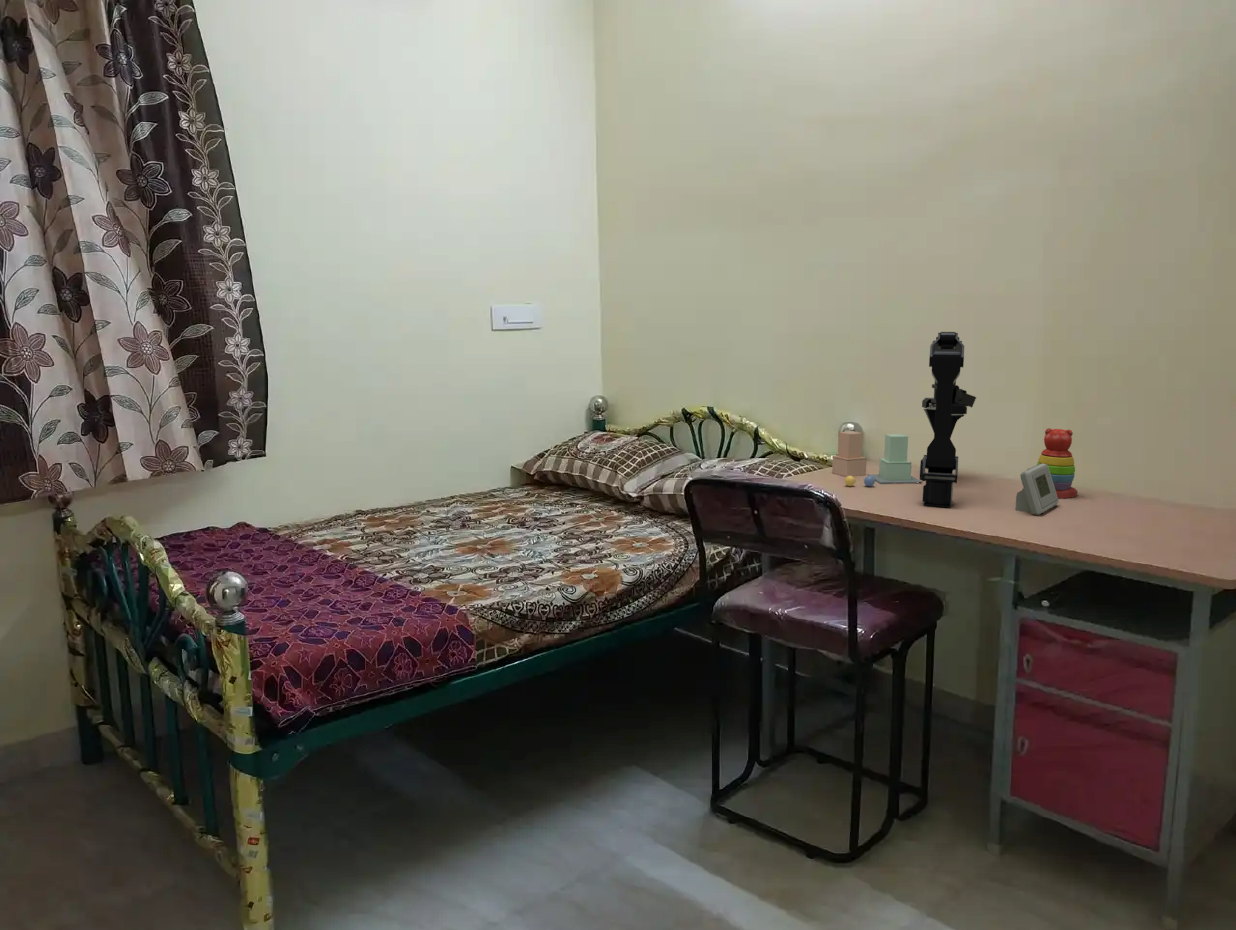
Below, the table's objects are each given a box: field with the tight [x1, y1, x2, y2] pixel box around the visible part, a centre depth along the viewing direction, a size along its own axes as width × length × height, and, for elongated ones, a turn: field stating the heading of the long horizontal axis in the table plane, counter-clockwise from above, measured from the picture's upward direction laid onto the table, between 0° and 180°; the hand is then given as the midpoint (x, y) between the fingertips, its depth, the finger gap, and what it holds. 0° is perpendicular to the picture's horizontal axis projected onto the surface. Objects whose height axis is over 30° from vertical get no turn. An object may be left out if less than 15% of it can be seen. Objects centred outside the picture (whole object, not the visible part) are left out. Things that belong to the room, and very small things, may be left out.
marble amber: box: [844, 476, 857, 487], centre depth 261 cm, size 3×3×3 cm
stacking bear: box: [1036, 428, 1078, 499], centre depth 247 cm, size 11×10×18 cm
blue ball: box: [863, 475, 876, 487], centre depth 260 cm, size 3×3×3 cm
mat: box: [867, 473, 923, 485], centre depth 270 cm, size 12×12×1 cm
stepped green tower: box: [878, 433, 912, 480], centre depth 269 cm, size 7×7×12 cm
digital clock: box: [1015, 464, 1059, 516], centre depth 230 cm, size 16×9×11 cm, turn 129°
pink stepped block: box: [831, 430, 868, 478], centre depth 279 cm, size 7×7×12 cm
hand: (942, 436), depth 266 cm, fingers open, 9 cm apart
